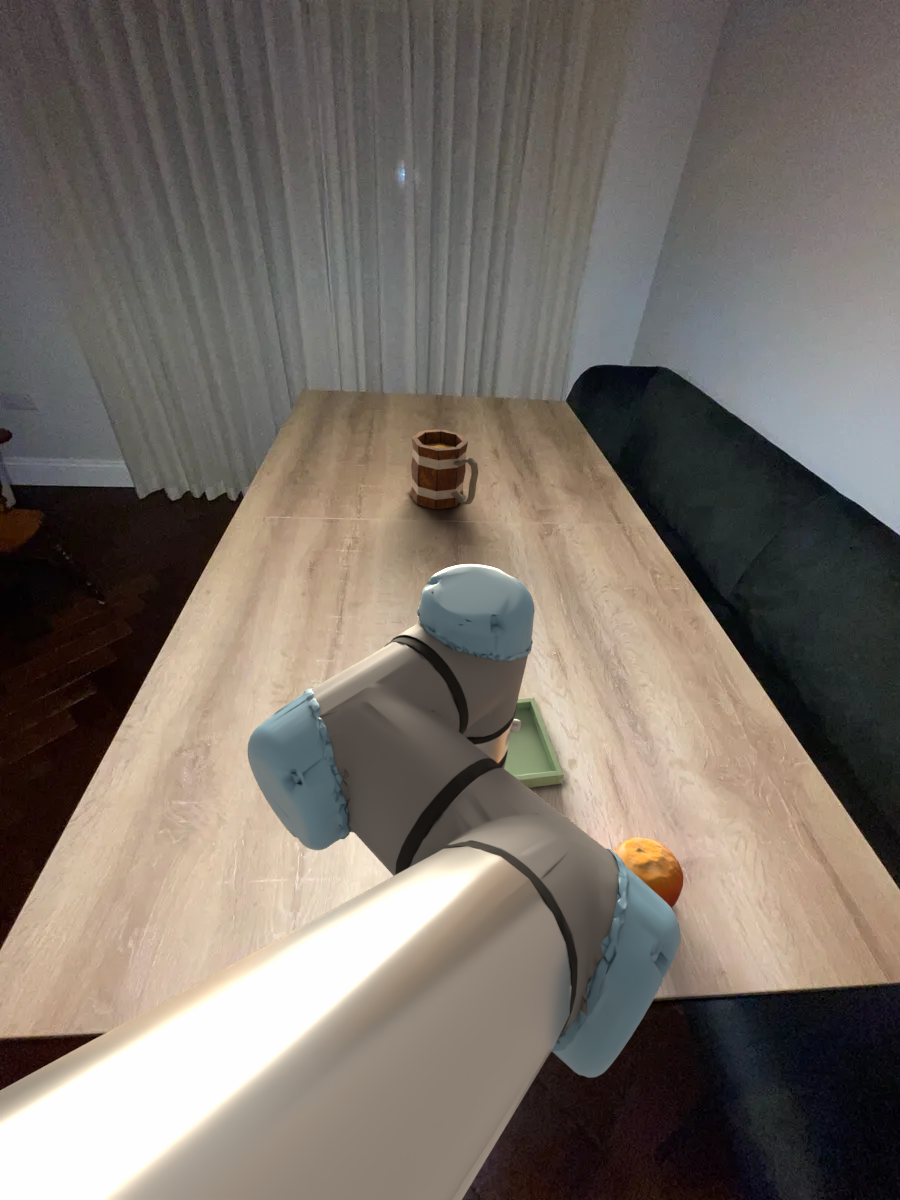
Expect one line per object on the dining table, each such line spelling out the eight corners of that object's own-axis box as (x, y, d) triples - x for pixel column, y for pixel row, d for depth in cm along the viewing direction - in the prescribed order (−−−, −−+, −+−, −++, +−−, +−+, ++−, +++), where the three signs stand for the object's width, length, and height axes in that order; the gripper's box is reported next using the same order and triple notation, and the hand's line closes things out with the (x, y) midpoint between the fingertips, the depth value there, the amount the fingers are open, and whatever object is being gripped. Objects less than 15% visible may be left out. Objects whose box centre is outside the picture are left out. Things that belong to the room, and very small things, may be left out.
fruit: (645, 952, 55) (638, 884, 53) (597, 904, 62) (589, 843, 61) (703, 919, 58) (697, 854, 56) (650, 877, 65) (644, 818, 64)
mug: (399, 493, 135) (399, 436, 125) (438, 480, 142) (441, 425, 133) (451, 525, 124) (456, 465, 114) (491, 508, 131) (498, 451, 122)
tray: (447, 798, 69) (448, 788, 68) (432, 715, 79) (433, 706, 78) (560, 784, 71) (563, 775, 70) (532, 706, 82) (534, 697, 81)
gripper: (493, 883, 34) (466, 994, 48) (518, 656, 51) (493, 789, 65) (380, 859, 35) (386, 975, 49) (442, 644, 51) (433, 777, 66)
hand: (447, 869), depth 57 cm, fingers closed on lid, 8 cm apart
